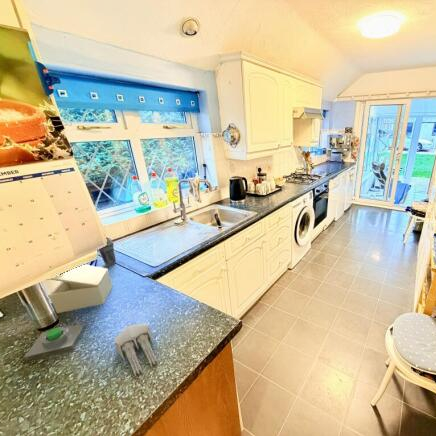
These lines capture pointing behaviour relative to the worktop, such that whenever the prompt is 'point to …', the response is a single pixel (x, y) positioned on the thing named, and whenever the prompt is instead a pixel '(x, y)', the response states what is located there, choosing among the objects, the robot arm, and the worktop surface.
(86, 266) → the chest lid
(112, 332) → the worktop surface
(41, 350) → the block
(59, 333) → the button
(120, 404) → the worktop surface
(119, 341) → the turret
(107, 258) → the beverage cup
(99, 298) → the chest
